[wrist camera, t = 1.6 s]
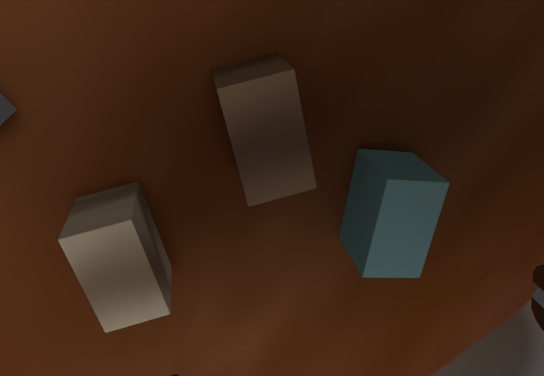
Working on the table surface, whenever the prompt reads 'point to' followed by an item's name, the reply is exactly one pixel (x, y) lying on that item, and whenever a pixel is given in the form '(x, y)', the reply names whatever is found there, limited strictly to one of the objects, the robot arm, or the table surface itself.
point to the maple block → (118, 256)
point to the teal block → (391, 213)
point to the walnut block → (265, 127)
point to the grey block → (5, 109)
